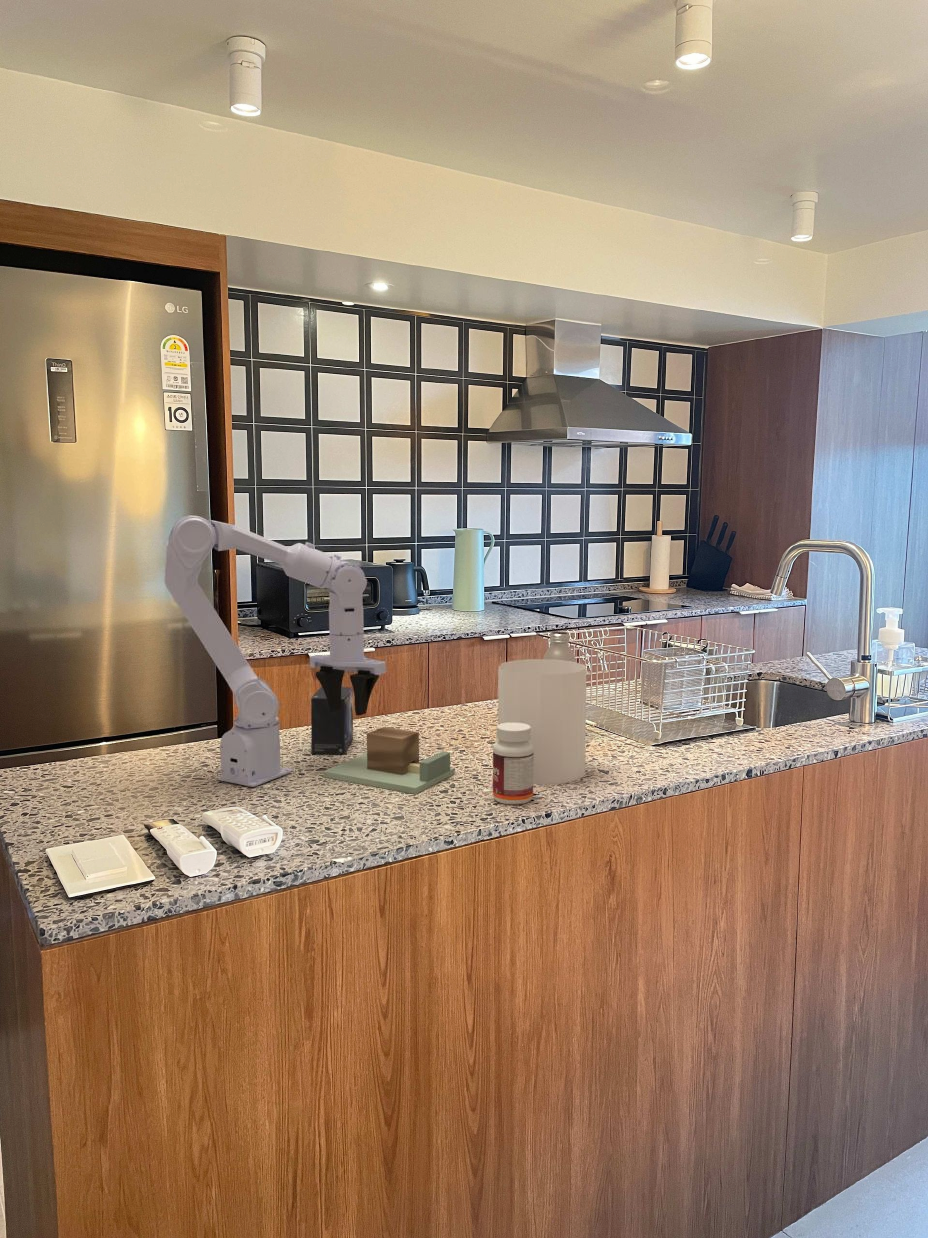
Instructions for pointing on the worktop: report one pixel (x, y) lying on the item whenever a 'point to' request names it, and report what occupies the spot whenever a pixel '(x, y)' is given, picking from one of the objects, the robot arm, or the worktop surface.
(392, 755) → the brown block
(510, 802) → the pill bottle
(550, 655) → the plastic bottle
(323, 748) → the small box
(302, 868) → the worktop surface
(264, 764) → the robot arm
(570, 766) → the container
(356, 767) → the wall board
